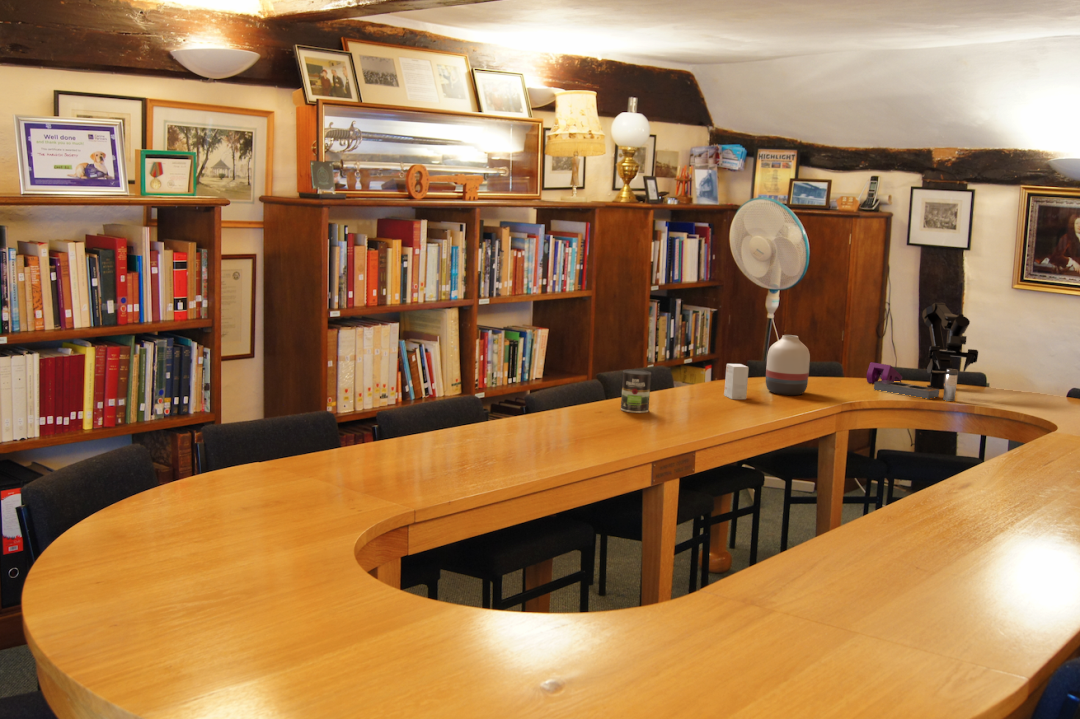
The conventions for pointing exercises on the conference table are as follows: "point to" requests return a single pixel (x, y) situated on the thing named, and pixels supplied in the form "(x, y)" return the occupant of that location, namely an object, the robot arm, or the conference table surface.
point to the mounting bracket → (882, 373)
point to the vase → (787, 366)
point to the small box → (736, 381)
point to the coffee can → (635, 391)
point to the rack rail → (906, 389)
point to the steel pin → (950, 384)
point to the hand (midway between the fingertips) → (951, 370)
